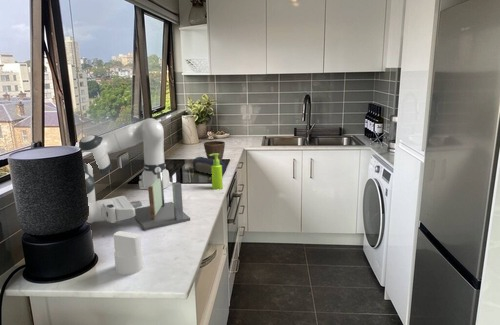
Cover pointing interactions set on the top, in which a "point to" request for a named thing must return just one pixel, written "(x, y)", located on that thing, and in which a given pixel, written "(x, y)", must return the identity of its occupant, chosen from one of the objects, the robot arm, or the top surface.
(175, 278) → the top surface
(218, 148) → the plant pot
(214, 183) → the soap dispenser
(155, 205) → the gate leaf
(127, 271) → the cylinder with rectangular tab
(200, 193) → the top surface
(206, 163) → the portable speaker
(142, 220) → the gate frame
